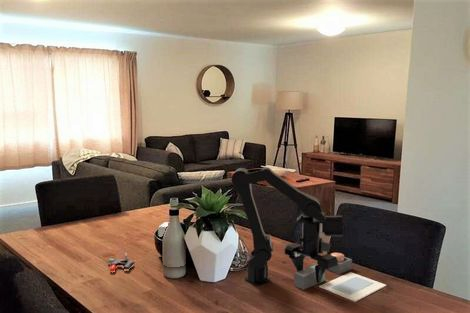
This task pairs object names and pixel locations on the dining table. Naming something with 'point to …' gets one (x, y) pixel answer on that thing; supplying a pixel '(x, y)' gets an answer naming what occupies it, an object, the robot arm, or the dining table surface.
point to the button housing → (342, 266)
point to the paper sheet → (352, 286)
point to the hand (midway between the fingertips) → (309, 279)
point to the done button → (338, 256)
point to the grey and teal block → (306, 278)
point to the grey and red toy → (120, 263)
